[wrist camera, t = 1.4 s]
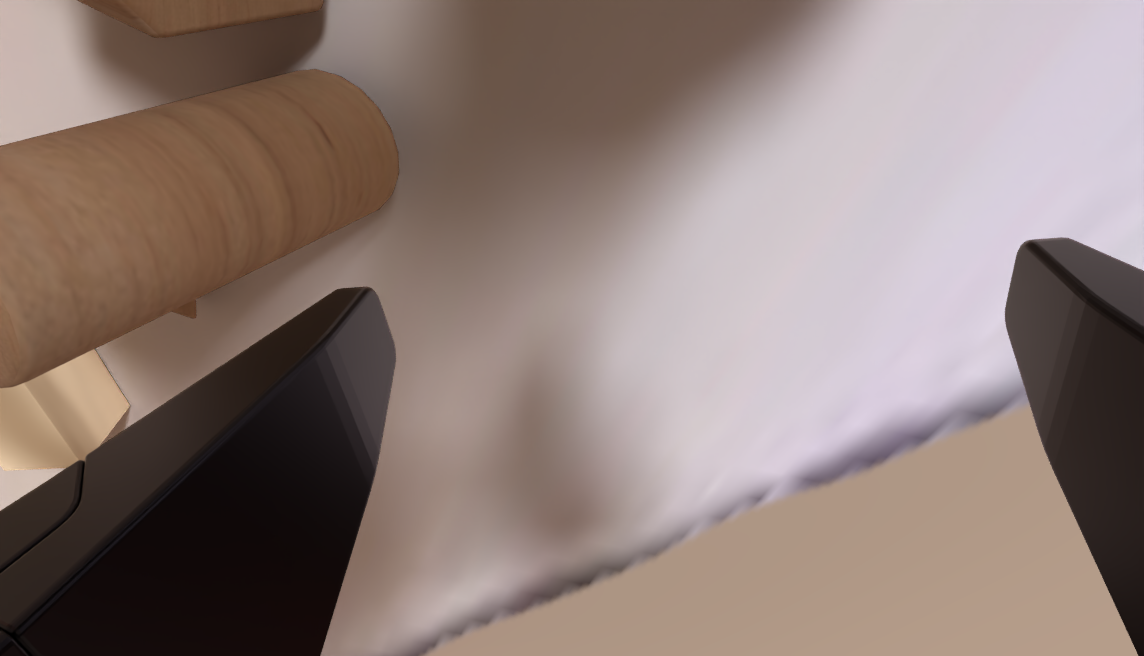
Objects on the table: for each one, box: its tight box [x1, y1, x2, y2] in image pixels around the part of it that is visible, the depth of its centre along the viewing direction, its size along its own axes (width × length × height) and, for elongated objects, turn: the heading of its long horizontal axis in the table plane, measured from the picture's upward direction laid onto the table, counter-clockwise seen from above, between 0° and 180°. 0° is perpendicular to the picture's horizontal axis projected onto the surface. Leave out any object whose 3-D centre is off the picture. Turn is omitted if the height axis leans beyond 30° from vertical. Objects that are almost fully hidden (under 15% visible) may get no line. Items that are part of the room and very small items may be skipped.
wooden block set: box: [0, 0, 399, 388], centre depth 17 cm, size 18×9×10 cm, turn 167°
